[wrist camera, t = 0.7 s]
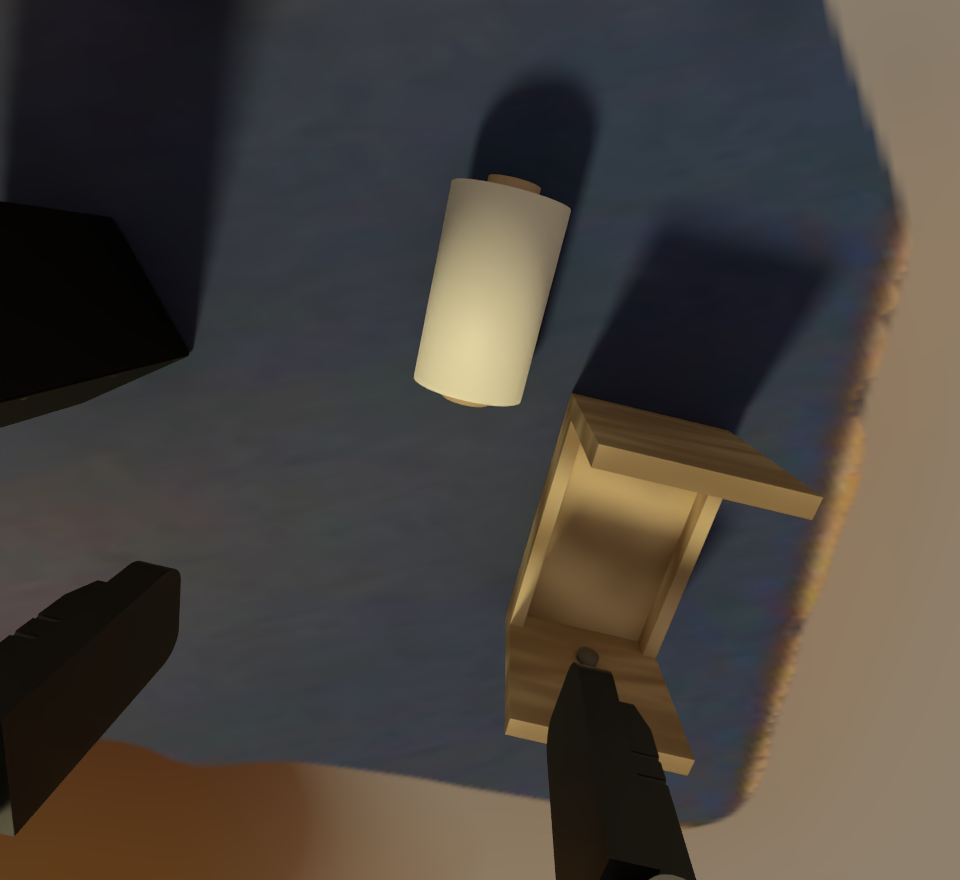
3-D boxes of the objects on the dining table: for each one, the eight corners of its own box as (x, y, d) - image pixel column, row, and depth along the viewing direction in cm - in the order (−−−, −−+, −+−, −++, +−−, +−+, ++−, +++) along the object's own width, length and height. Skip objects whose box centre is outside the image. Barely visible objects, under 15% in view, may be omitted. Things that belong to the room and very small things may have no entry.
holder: (571, 392, 28) (598, 443, 20) (728, 430, 28) (823, 497, 20) (505, 614, 33) (505, 734, 24) (641, 646, 33) (687, 775, 25)
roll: (461, 179, 25) (446, 153, 20) (569, 205, 25) (581, 186, 20) (422, 376, 29) (400, 398, 23) (518, 399, 29) (517, 426, 23)
